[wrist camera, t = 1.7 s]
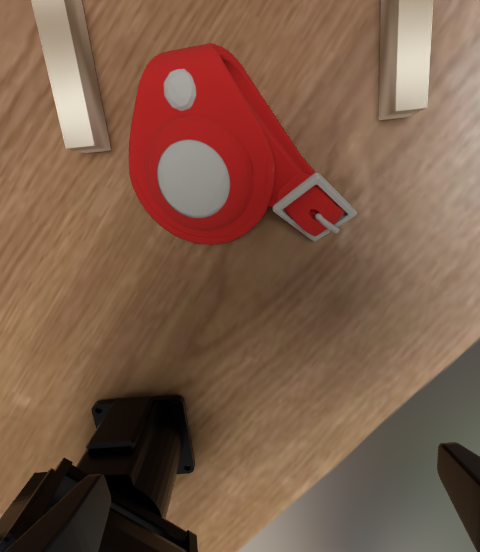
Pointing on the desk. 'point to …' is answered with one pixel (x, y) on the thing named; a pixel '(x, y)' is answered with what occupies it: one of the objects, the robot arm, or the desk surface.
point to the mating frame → (86, 96)
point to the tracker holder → (220, 153)
